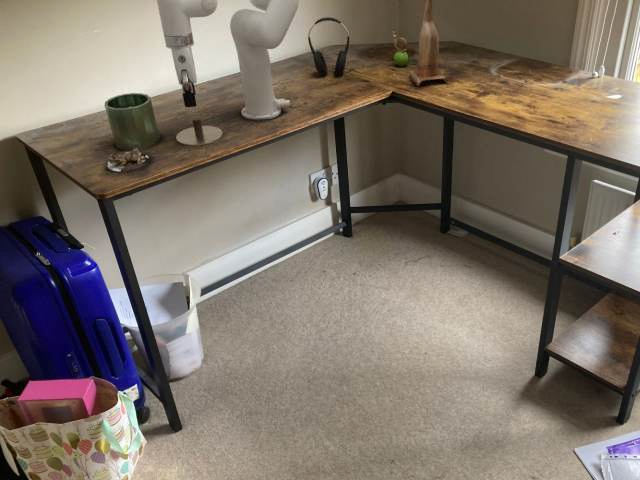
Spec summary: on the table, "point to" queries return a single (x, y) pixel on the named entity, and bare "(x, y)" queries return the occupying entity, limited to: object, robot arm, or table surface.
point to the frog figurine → (124, 159)
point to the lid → (199, 134)
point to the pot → (132, 120)
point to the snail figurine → (400, 51)
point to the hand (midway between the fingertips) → (190, 100)
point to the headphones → (319, 58)
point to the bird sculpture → (427, 50)
